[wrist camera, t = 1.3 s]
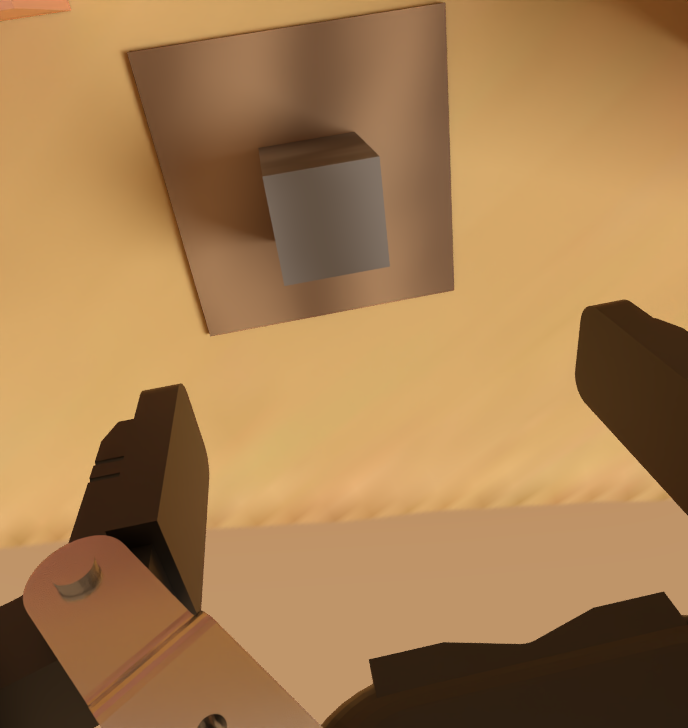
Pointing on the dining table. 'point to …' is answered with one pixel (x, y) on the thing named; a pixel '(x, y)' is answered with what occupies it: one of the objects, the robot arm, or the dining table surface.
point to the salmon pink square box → (31, 8)
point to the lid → (307, 164)
